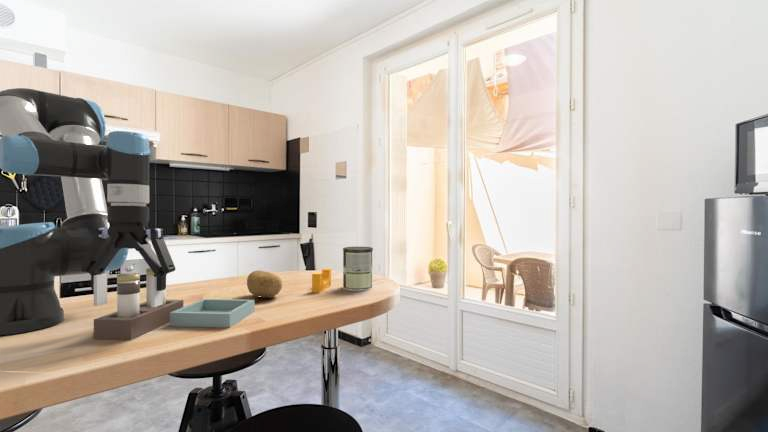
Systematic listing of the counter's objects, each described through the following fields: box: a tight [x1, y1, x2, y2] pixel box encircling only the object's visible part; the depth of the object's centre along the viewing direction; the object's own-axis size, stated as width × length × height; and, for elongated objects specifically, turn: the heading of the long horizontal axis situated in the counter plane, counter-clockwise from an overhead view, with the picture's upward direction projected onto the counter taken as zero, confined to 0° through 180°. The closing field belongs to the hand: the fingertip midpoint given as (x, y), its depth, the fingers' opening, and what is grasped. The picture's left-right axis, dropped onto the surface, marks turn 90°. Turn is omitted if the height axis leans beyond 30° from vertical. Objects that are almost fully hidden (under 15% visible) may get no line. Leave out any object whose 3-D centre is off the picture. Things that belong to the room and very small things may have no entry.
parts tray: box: [169, 298, 256, 329], centre depth 93 cm, size 14×14×3 cm
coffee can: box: [342, 246, 374, 292], centre depth 131 cm, size 10×10×14 cm
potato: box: [246, 270, 283, 299], centre depth 116 cm, size 10×14×8 cm
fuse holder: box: [93, 299, 184, 341], centre depth 86 cm, size 8×18×4 cm, turn 177°
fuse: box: [145, 267, 167, 307], centre depth 91 cm, size 4×4×12 cm
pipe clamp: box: [311, 268, 332, 294], centre depth 129 cm, size 12×4×6 cm, turn 171°
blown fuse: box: [116, 272, 141, 318], centre depth 82 cm, size 4×4×12 cm
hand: (128, 305), depth 82 cm, fingers open, 12 cm apart
